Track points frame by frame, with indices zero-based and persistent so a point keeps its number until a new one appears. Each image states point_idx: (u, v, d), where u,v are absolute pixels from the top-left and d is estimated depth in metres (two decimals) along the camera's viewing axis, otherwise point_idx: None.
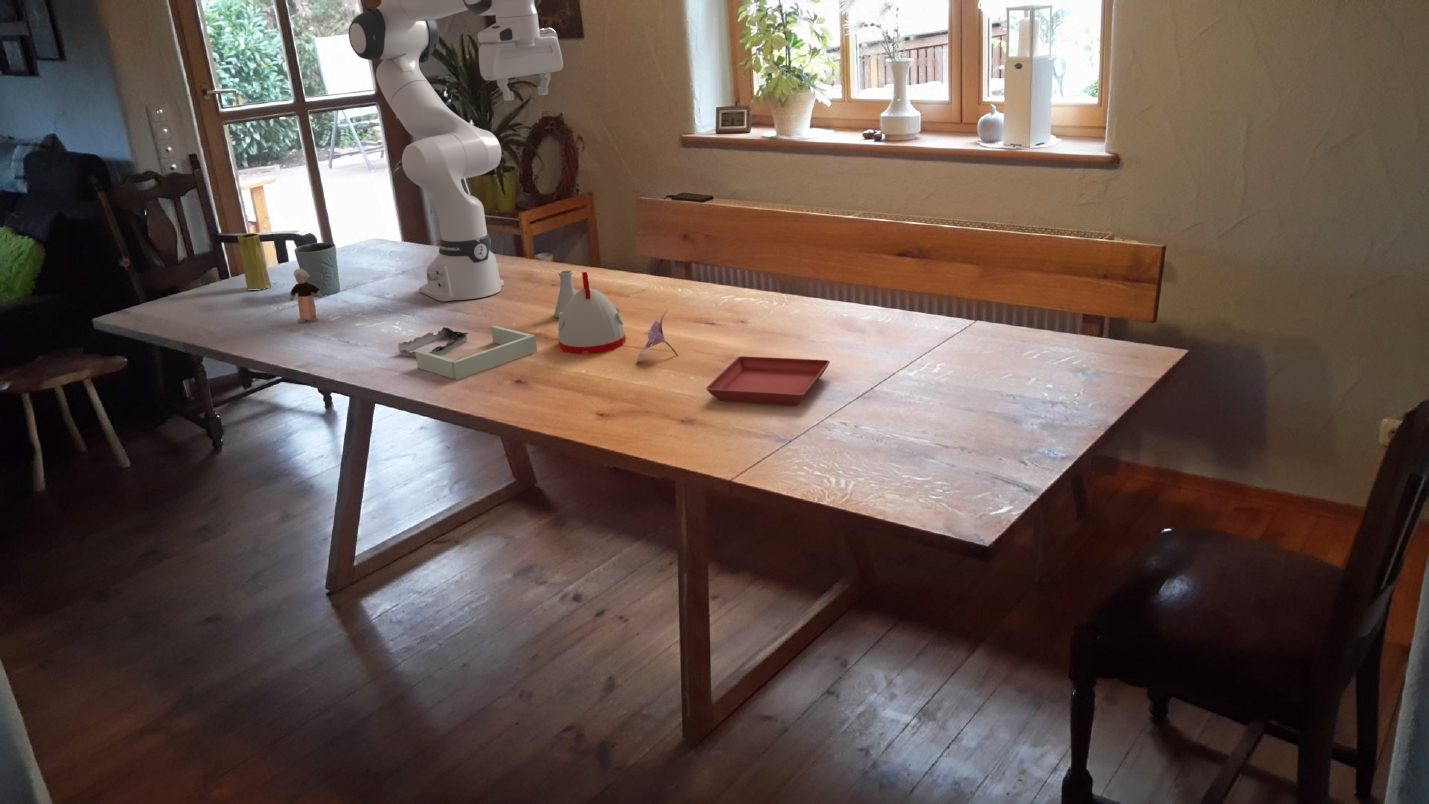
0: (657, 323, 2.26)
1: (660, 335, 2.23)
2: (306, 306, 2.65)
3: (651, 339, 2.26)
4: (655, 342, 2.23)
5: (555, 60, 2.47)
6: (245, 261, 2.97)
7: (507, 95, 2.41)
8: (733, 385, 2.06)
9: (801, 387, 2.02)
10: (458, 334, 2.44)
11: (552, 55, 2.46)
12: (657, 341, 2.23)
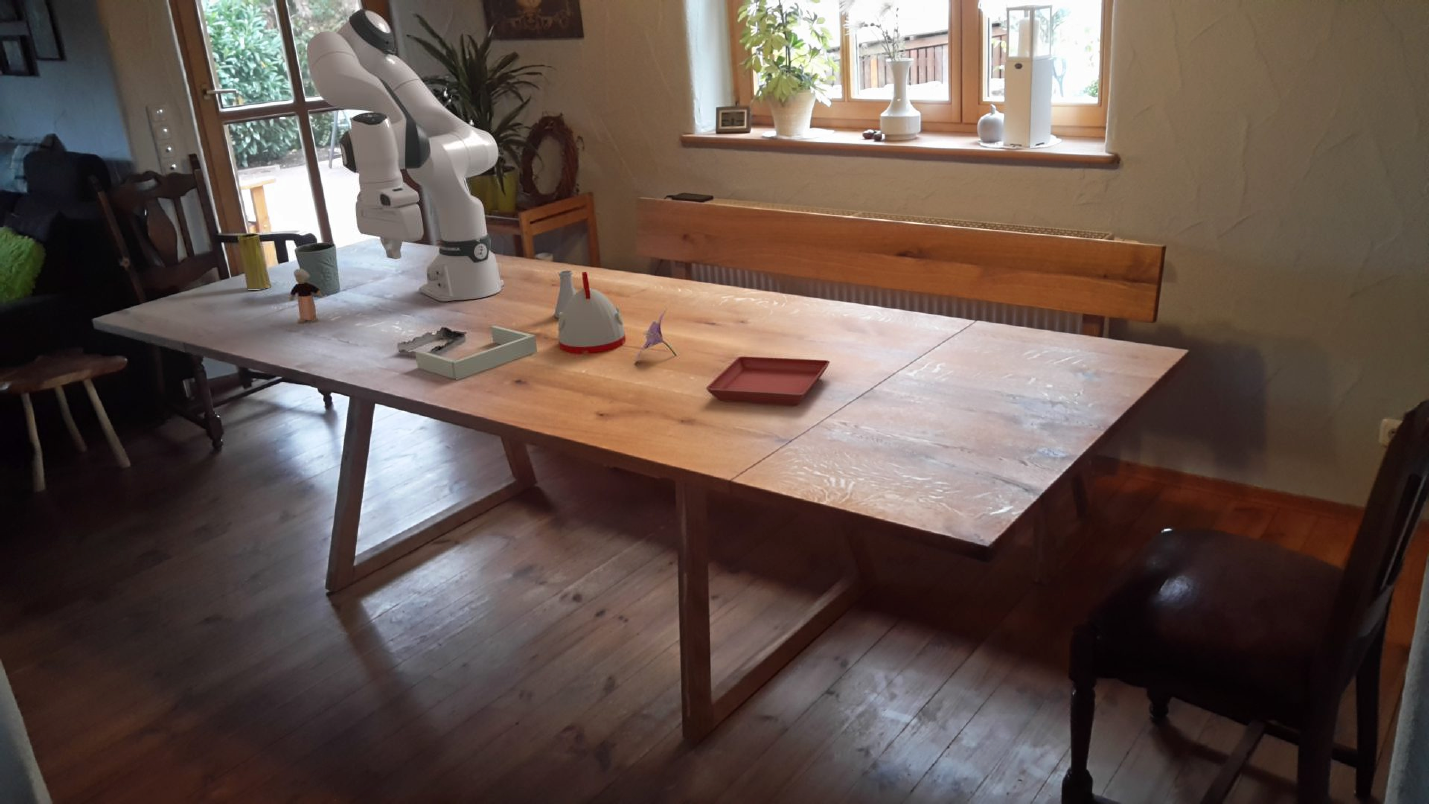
0: (655, 323, 2.26)
1: (659, 335, 2.23)
2: (306, 306, 2.65)
3: (650, 339, 2.26)
4: (654, 342, 2.23)
5: None
6: (245, 261, 2.97)
7: (399, 253, 2.40)
8: (733, 385, 2.06)
9: (801, 387, 2.02)
10: (457, 334, 2.45)
11: None
12: (656, 341, 2.23)
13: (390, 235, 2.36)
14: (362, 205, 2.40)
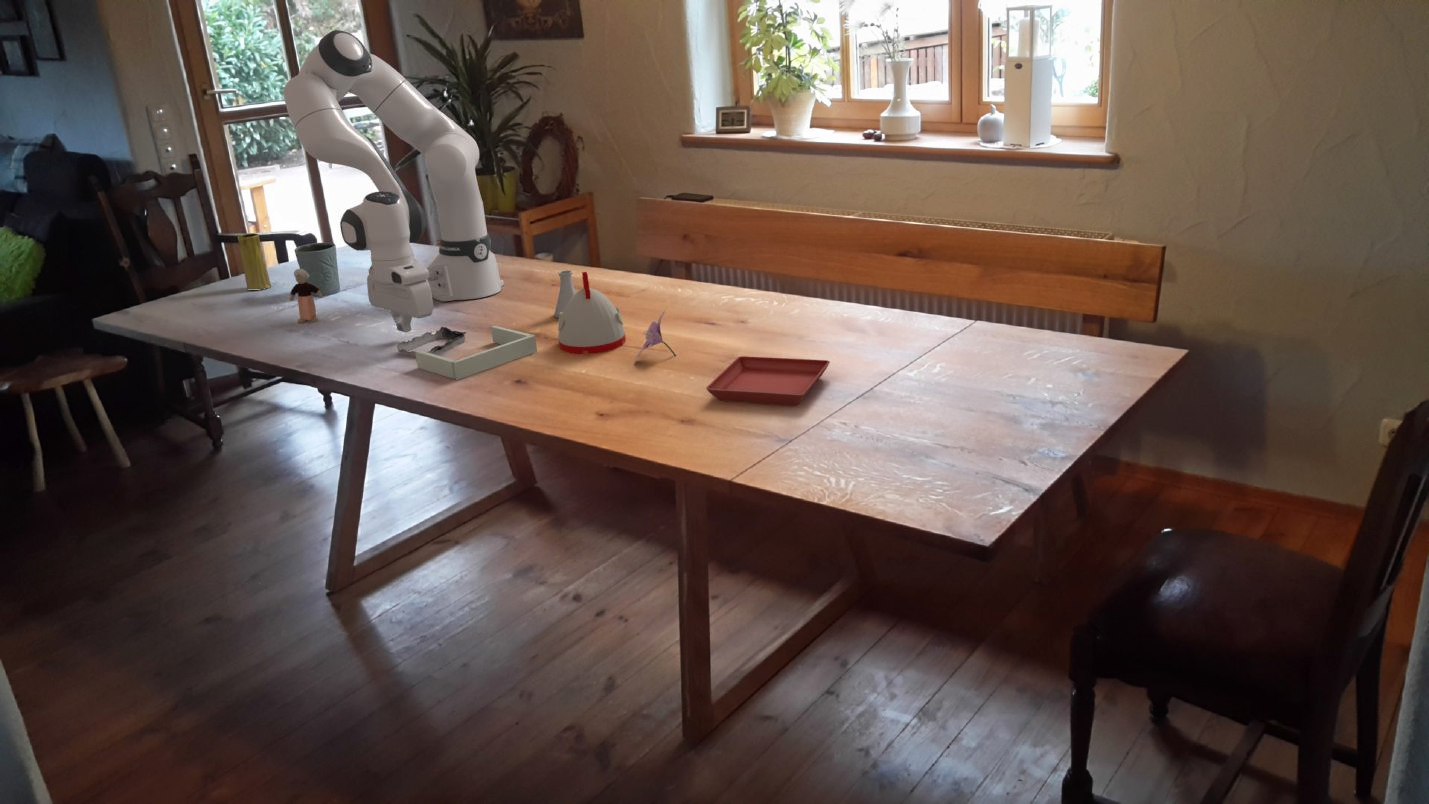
0: (655, 323, 2.26)
1: (658, 336, 2.23)
2: (306, 306, 2.65)
3: (649, 340, 2.26)
4: (653, 342, 2.23)
5: None
6: (245, 261, 2.97)
7: (409, 326, 2.46)
8: (733, 385, 2.06)
9: (801, 387, 2.02)
10: (456, 333, 2.45)
11: None
12: (656, 341, 2.23)
13: (401, 310, 2.42)
14: (374, 279, 2.46)
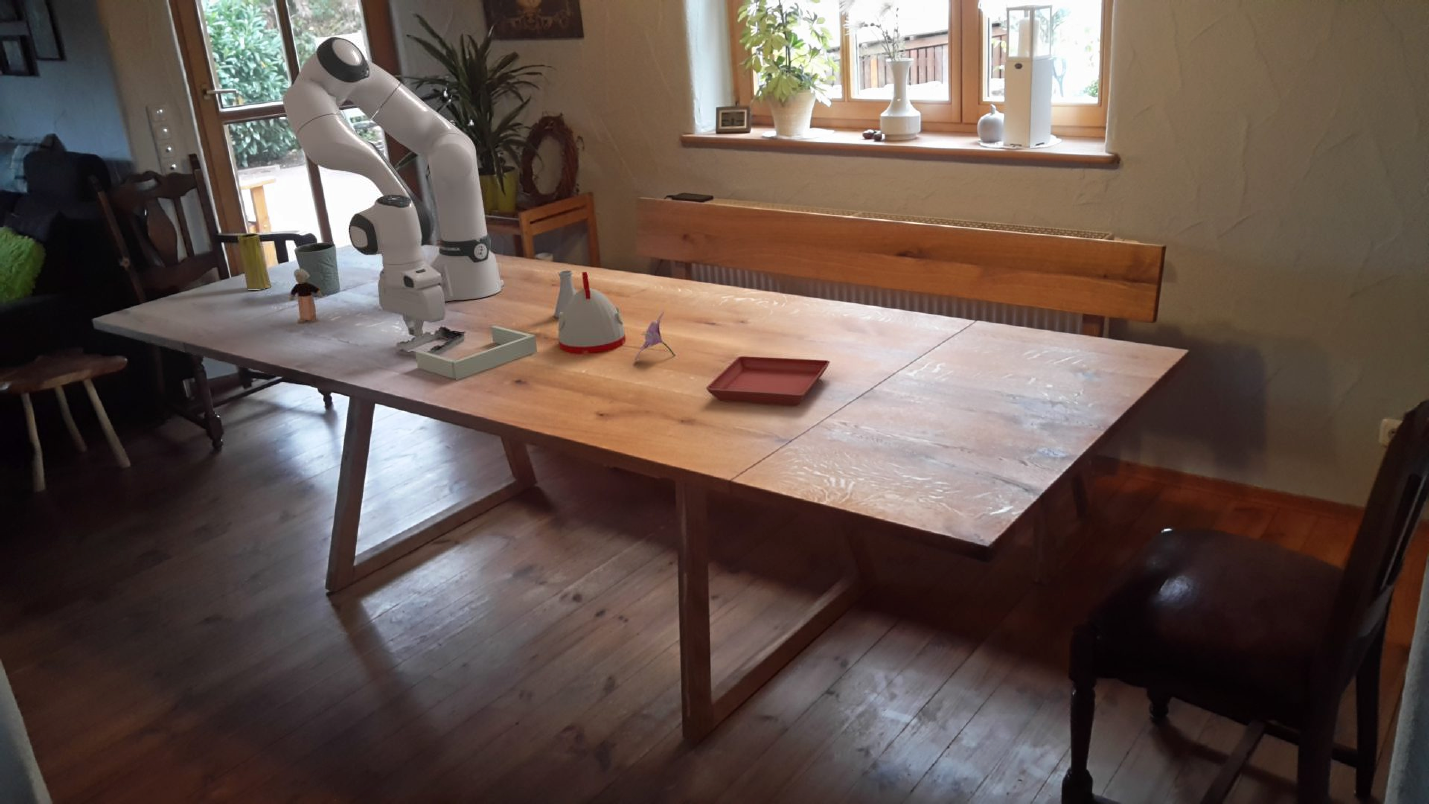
0: (654, 324, 2.26)
1: (658, 336, 2.23)
2: (306, 306, 2.65)
3: (648, 340, 2.26)
4: (652, 342, 2.22)
5: None
6: (245, 261, 2.97)
7: (421, 330, 2.44)
8: (733, 385, 2.06)
9: (801, 387, 2.02)
10: (455, 333, 2.45)
11: None
12: (655, 341, 2.23)
13: (413, 314, 2.39)
14: (385, 283, 2.43)
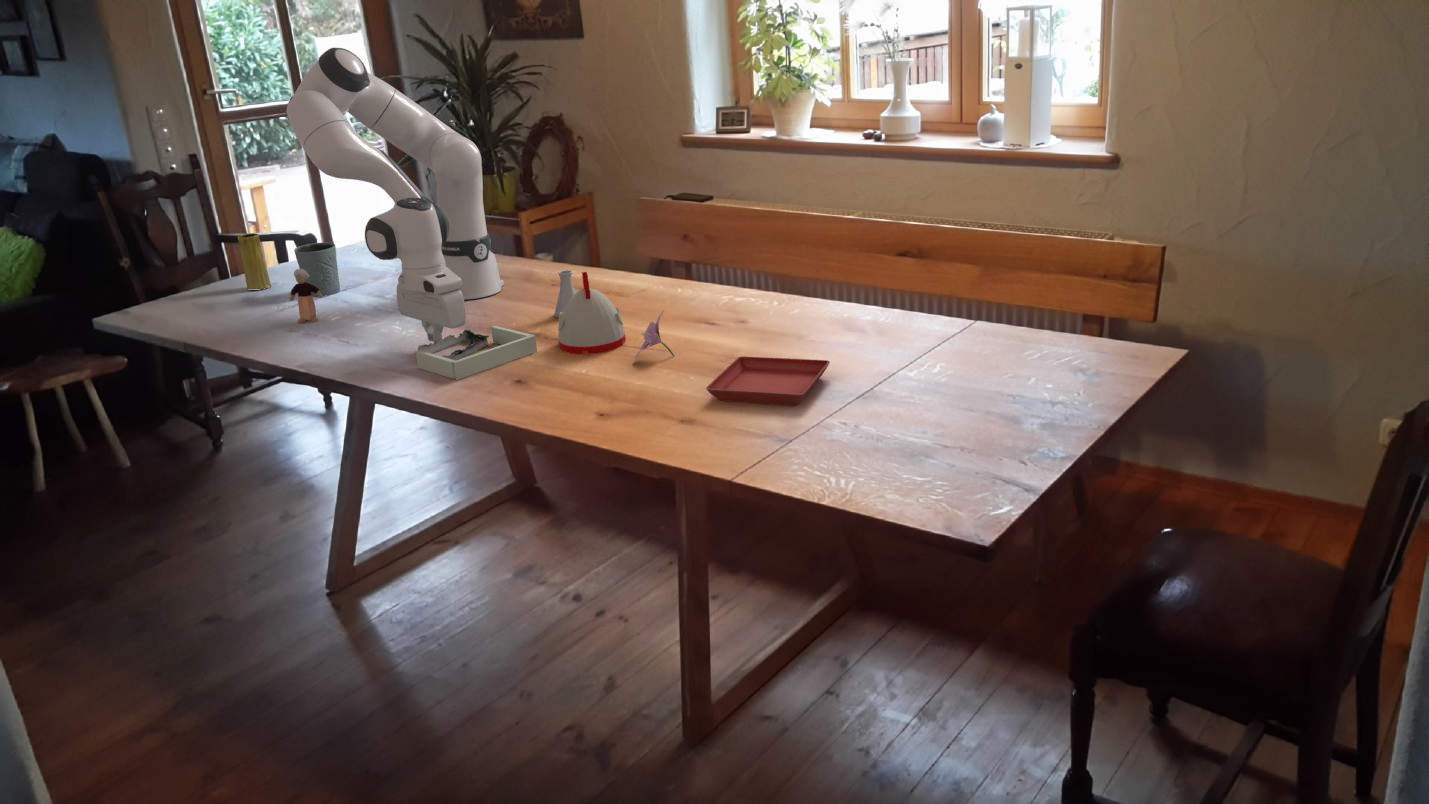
0: (653, 324, 2.26)
1: (657, 336, 2.22)
2: (306, 306, 2.65)
3: (647, 340, 2.26)
4: (652, 343, 2.22)
5: None
6: (245, 261, 2.97)
7: (440, 336, 2.39)
8: (733, 385, 2.06)
9: (801, 387, 2.02)
10: (479, 337, 2.40)
11: None
12: (654, 342, 2.23)
13: (432, 320, 2.35)
14: (404, 288, 2.39)
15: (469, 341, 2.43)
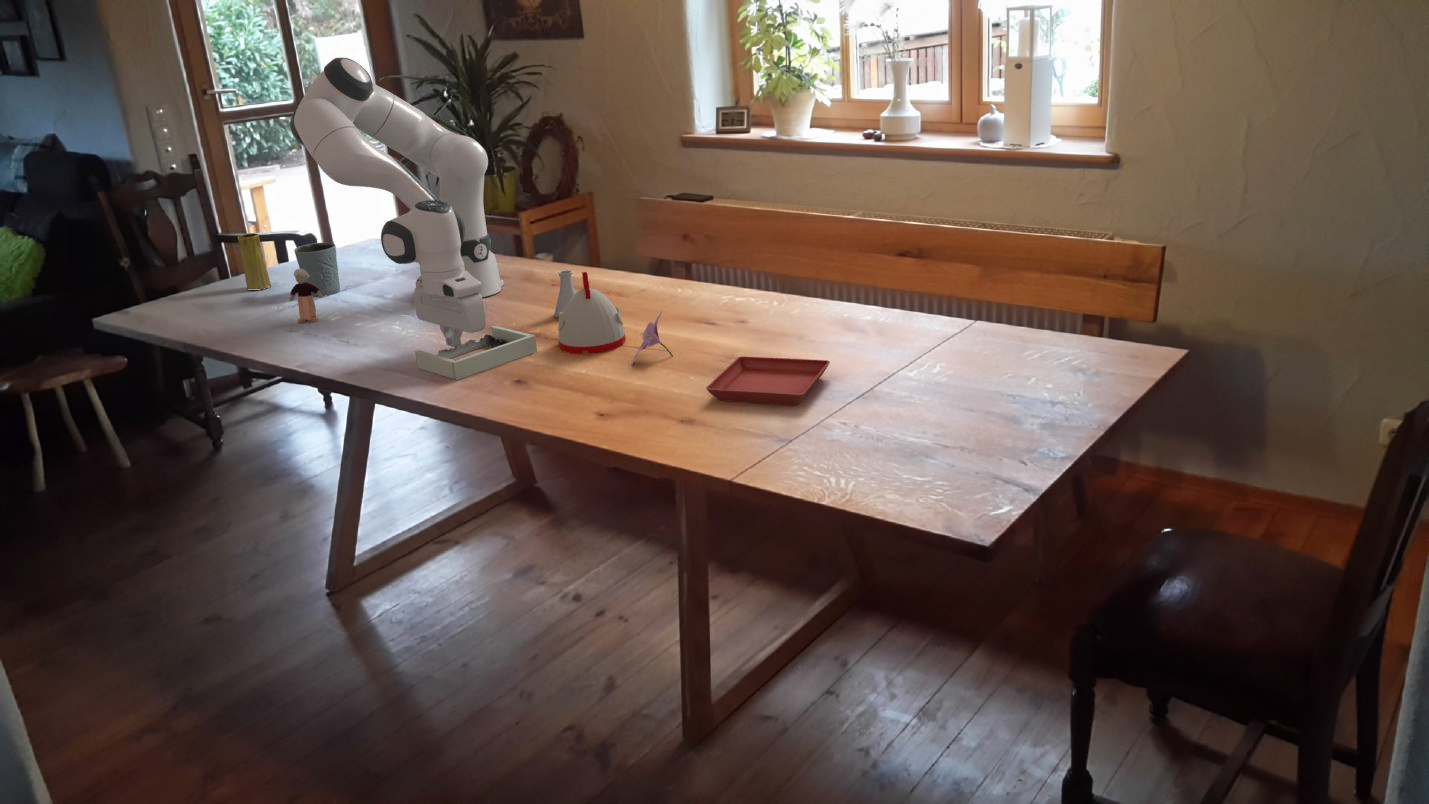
0: (652, 324, 2.26)
1: (655, 336, 2.22)
2: (306, 306, 2.65)
3: (646, 340, 2.26)
4: (650, 343, 2.22)
5: None
6: (245, 261, 2.97)
7: (459, 341, 2.35)
8: (733, 385, 2.06)
9: (801, 387, 2.02)
10: (500, 342, 2.37)
11: None
12: (653, 342, 2.23)
13: (451, 324, 2.31)
14: (422, 292, 2.35)
15: (490, 346, 2.39)
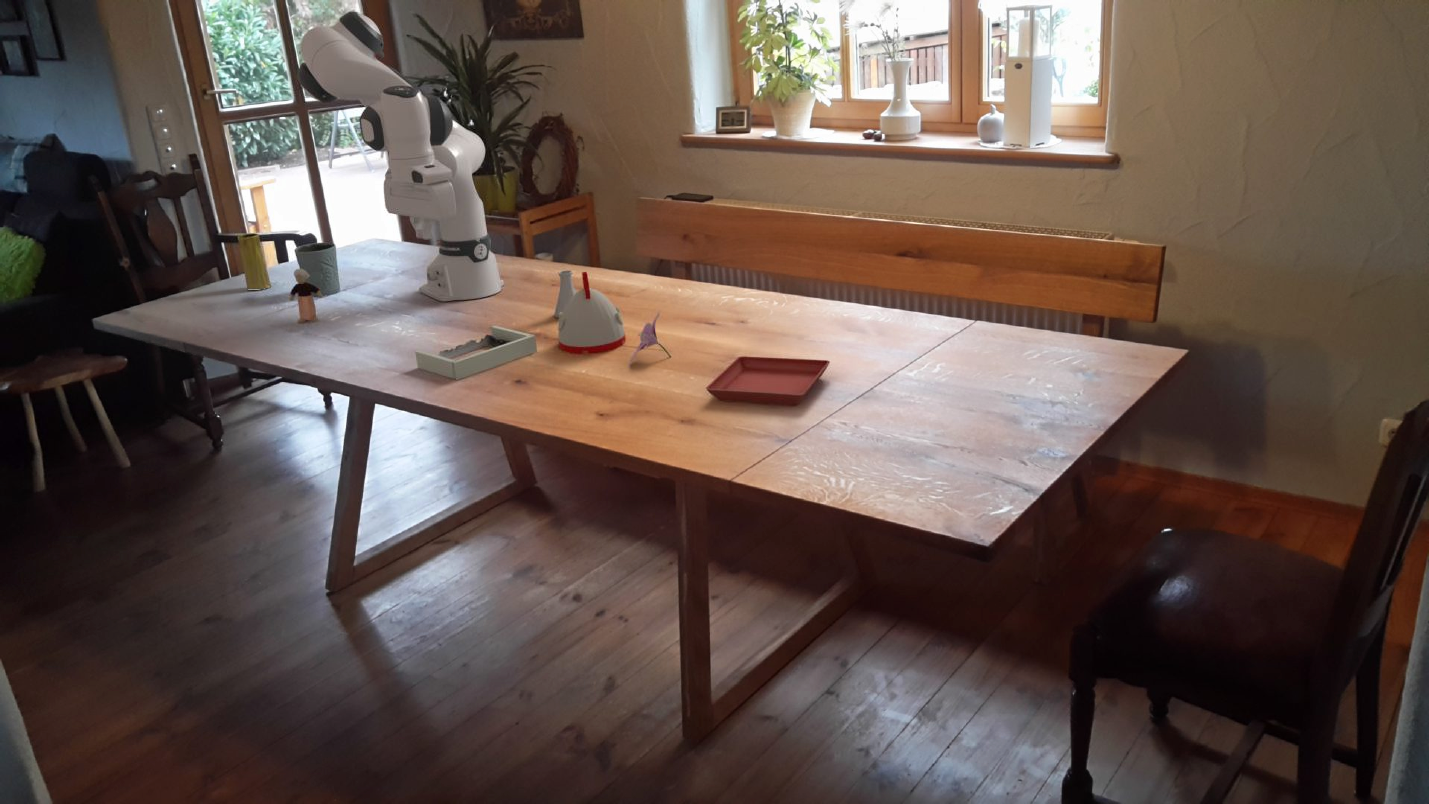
0: (650, 325, 2.25)
1: (653, 337, 2.22)
2: (306, 306, 2.65)
3: (644, 341, 2.26)
4: (648, 344, 2.22)
5: None
6: (245, 261, 2.97)
7: (430, 233, 2.31)
8: (733, 385, 2.06)
9: (801, 387, 2.02)
10: (501, 342, 2.37)
11: None
12: (651, 343, 2.22)
13: (421, 214, 2.26)
14: (391, 183, 2.30)
15: (491, 346, 2.39)
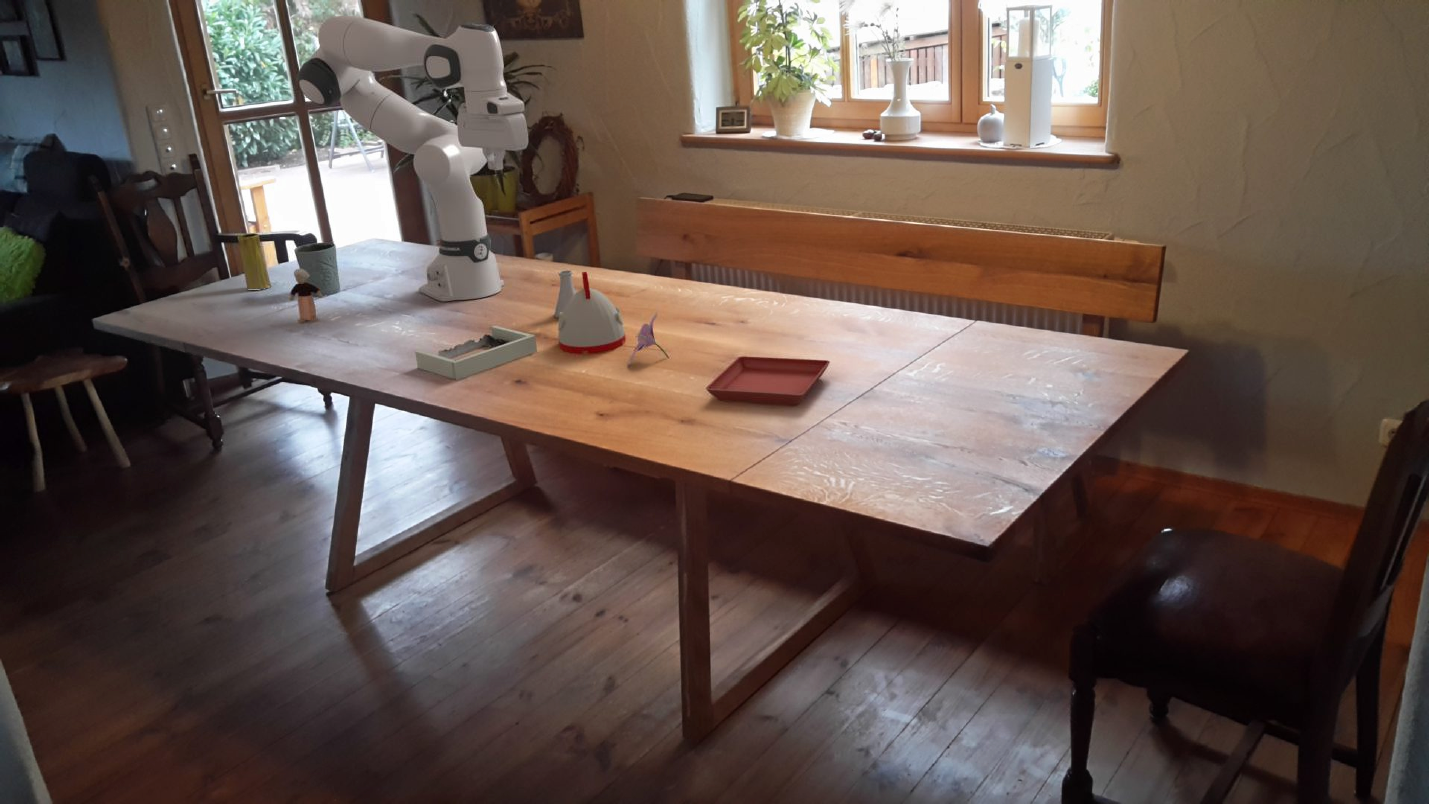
0: (647, 325, 2.25)
1: (651, 337, 2.22)
2: (306, 306, 2.65)
3: (641, 342, 2.25)
4: (646, 344, 2.22)
5: None
6: (245, 261, 2.97)
7: (501, 164, 2.43)
8: (733, 385, 2.06)
9: (801, 387, 2.02)
10: (500, 342, 2.37)
11: None
12: (649, 343, 2.22)
13: (494, 145, 2.39)
14: (465, 116, 2.43)
15: None
